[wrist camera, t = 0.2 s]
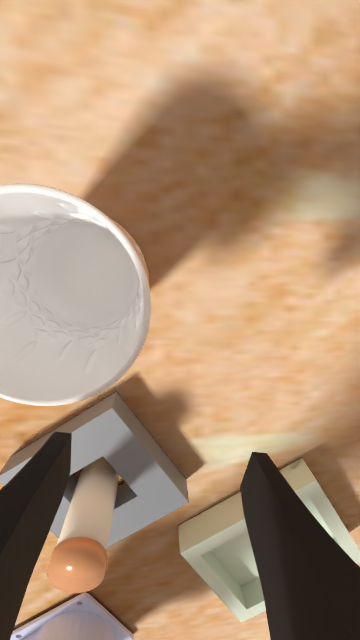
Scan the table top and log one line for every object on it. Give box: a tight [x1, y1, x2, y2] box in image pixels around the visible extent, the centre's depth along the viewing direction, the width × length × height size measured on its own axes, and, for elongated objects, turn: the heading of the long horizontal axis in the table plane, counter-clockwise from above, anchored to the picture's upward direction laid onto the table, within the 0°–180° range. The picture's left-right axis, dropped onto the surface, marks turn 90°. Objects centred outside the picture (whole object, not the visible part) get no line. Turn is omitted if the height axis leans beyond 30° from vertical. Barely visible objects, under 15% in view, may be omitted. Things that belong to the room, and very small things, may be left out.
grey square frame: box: [0, 392, 189, 547], centre depth 23 cm, size 10×10×2 cm
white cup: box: [0, 183, 151, 406], centre depth 15 cm, size 8×8×10 cm
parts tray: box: [178, 458, 360, 623], centre depth 26 cm, size 12×10×2 cm
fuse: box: [47, 456, 119, 593], centre depth 20 cm, size 3×3×8 cm
